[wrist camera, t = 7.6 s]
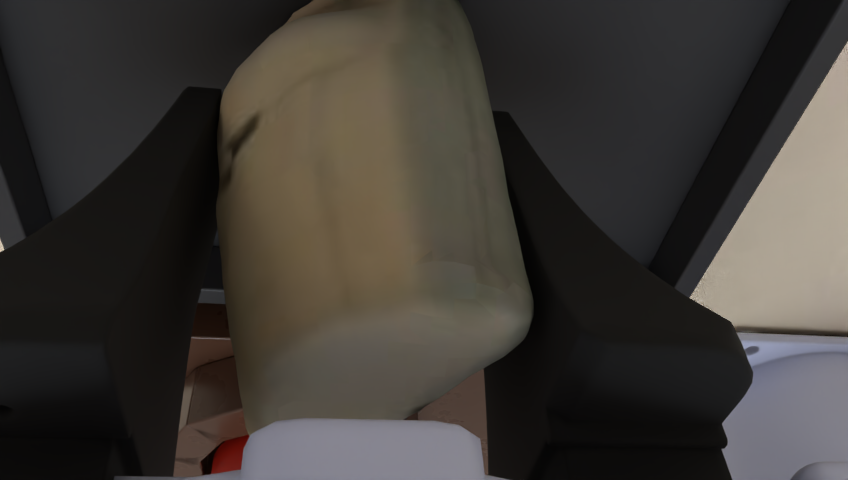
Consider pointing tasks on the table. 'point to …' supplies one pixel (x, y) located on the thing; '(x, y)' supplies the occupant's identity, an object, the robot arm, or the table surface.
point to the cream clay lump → (364, 214)
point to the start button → (229, 455)
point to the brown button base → (222, 408)
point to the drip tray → (507, 88)
